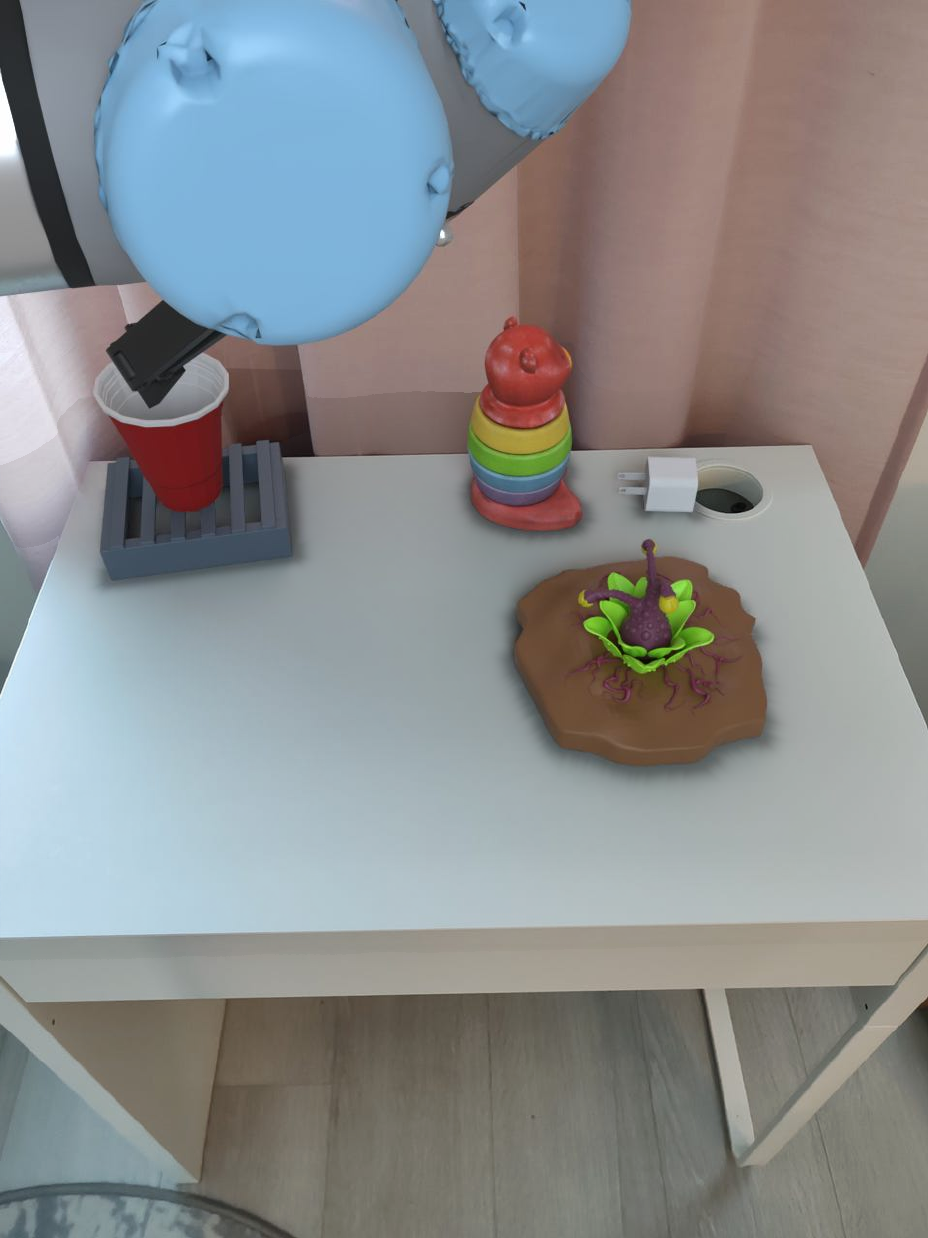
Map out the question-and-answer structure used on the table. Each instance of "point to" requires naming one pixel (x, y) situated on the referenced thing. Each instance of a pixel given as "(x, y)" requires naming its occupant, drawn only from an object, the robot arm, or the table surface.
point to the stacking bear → (523, 433)
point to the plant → (641, 661)
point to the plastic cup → (173, 431)
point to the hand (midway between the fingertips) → (232, 340)
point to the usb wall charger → (666, 484)
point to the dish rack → (210, 541)
